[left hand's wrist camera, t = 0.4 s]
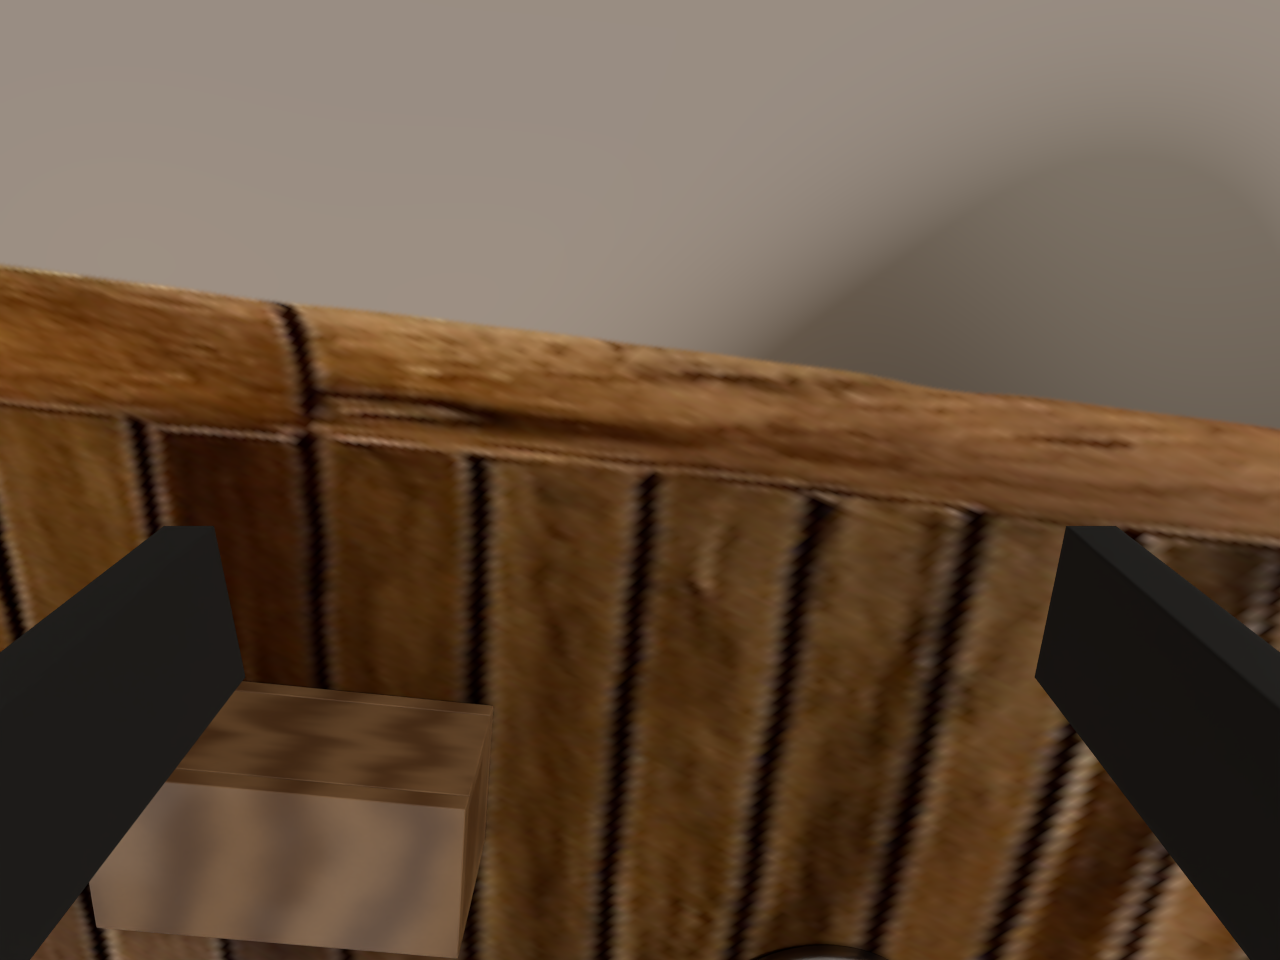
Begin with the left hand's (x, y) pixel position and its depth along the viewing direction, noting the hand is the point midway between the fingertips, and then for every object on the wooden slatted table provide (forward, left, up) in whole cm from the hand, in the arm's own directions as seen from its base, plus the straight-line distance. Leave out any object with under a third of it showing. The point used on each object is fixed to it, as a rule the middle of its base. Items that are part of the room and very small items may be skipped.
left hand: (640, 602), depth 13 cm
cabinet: (-27, +17, -28) cm, 42 cm away
